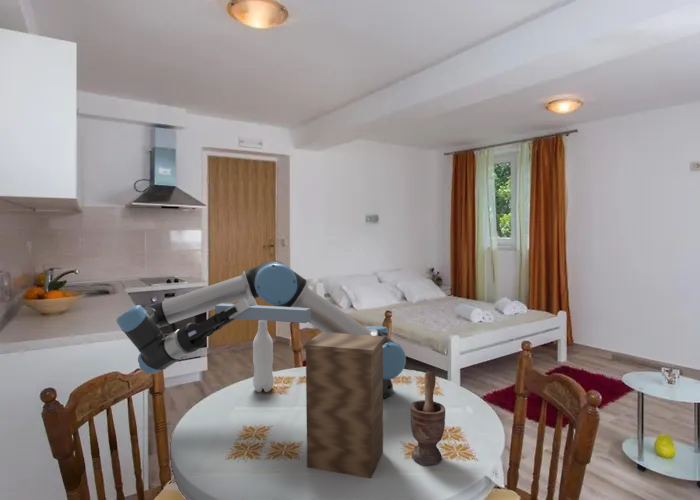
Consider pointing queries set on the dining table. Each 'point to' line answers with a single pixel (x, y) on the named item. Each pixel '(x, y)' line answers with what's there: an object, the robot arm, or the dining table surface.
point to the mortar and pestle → (427, 425)
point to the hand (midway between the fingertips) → (250, 301)
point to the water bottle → (263, 358)
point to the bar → (270, 313)
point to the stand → (344, 402)
